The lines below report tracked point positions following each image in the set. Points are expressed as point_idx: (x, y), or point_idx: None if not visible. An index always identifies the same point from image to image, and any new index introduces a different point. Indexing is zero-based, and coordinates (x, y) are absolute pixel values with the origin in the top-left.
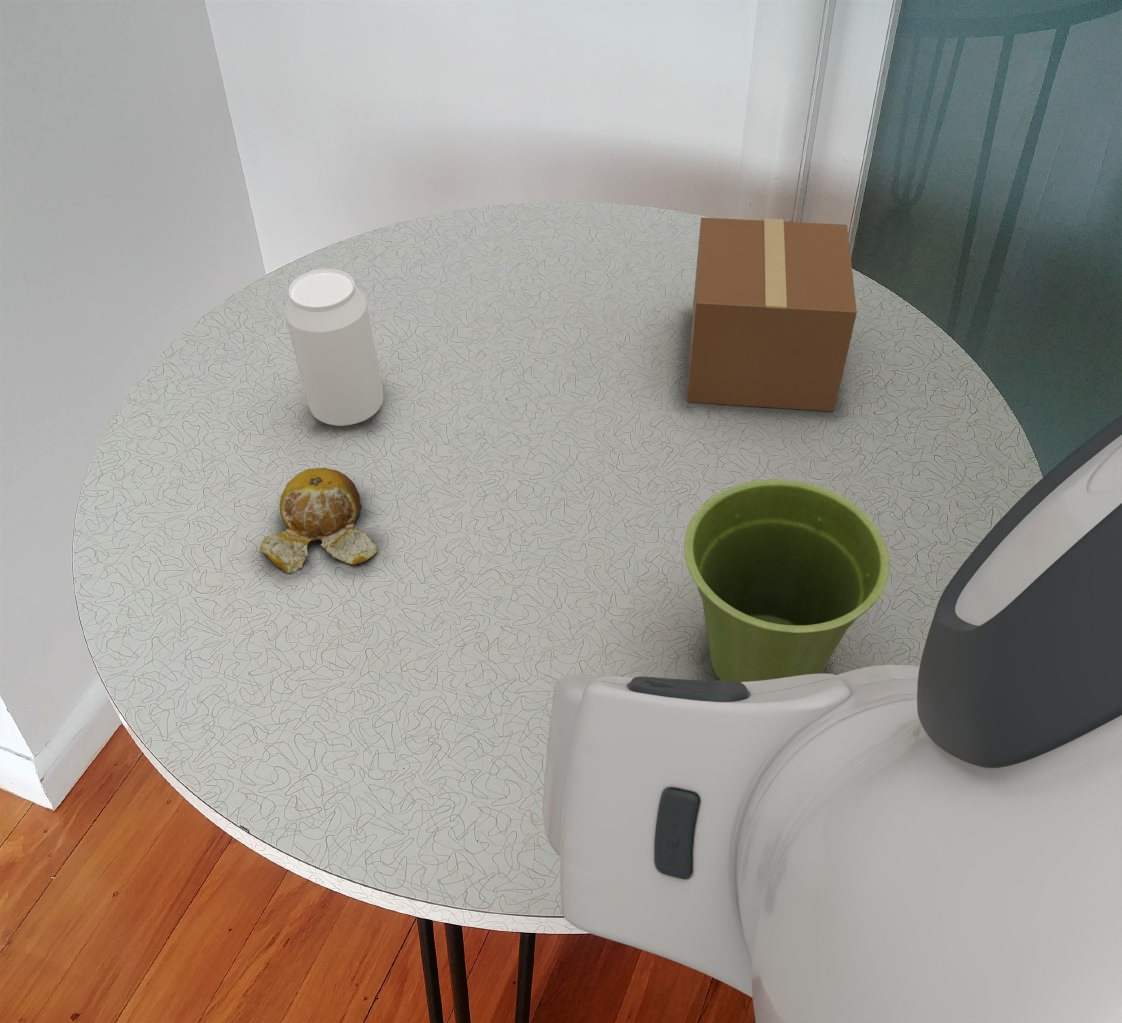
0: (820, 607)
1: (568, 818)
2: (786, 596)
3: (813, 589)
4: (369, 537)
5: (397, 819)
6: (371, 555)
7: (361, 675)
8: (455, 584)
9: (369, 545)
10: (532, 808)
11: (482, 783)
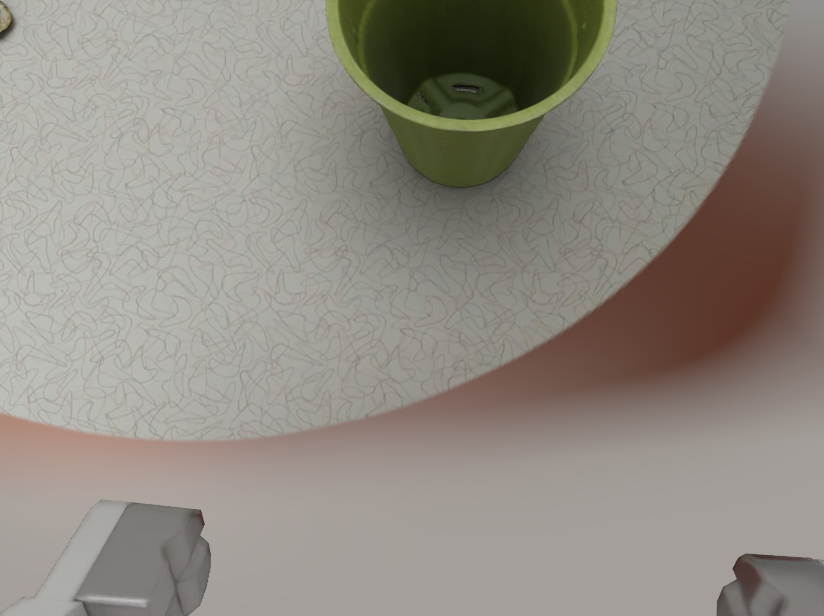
0: (524, 64)
1: None
2: (485, 50)
3: (516, 41)
4: (1, 3)
5: (58, 350)
6: (4, 27)
7: (8, 182)
8: (107, 58)
9: (2, 13)
10: (203, 327)
11: (148, 302)
